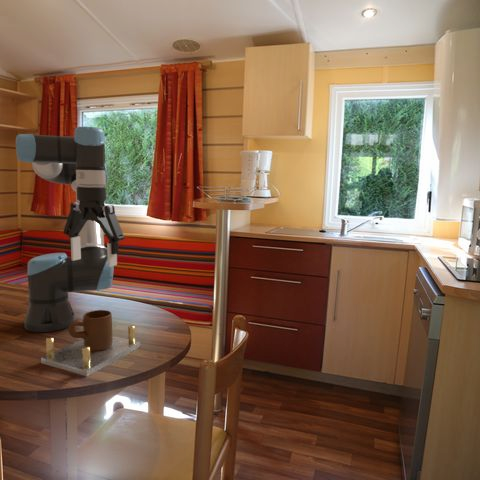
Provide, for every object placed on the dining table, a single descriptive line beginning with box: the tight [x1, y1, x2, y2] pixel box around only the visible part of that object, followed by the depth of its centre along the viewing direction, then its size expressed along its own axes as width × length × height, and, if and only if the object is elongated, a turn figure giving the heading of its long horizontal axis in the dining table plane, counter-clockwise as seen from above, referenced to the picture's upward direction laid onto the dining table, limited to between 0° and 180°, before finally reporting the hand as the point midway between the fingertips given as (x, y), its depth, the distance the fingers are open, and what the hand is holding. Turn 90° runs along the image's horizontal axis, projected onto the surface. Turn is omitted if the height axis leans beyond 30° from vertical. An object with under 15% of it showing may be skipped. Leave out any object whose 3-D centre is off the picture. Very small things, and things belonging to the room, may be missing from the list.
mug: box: [67, 309, 113, 351], centre depth 109 cm, size 12×8×9 cm, turn 138°
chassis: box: [40, 324, 141, 377], centre depth 109 cm, size 16×20×6 cm
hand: (93, 262), depth 111 cm, fingers open, 13 cm apart
